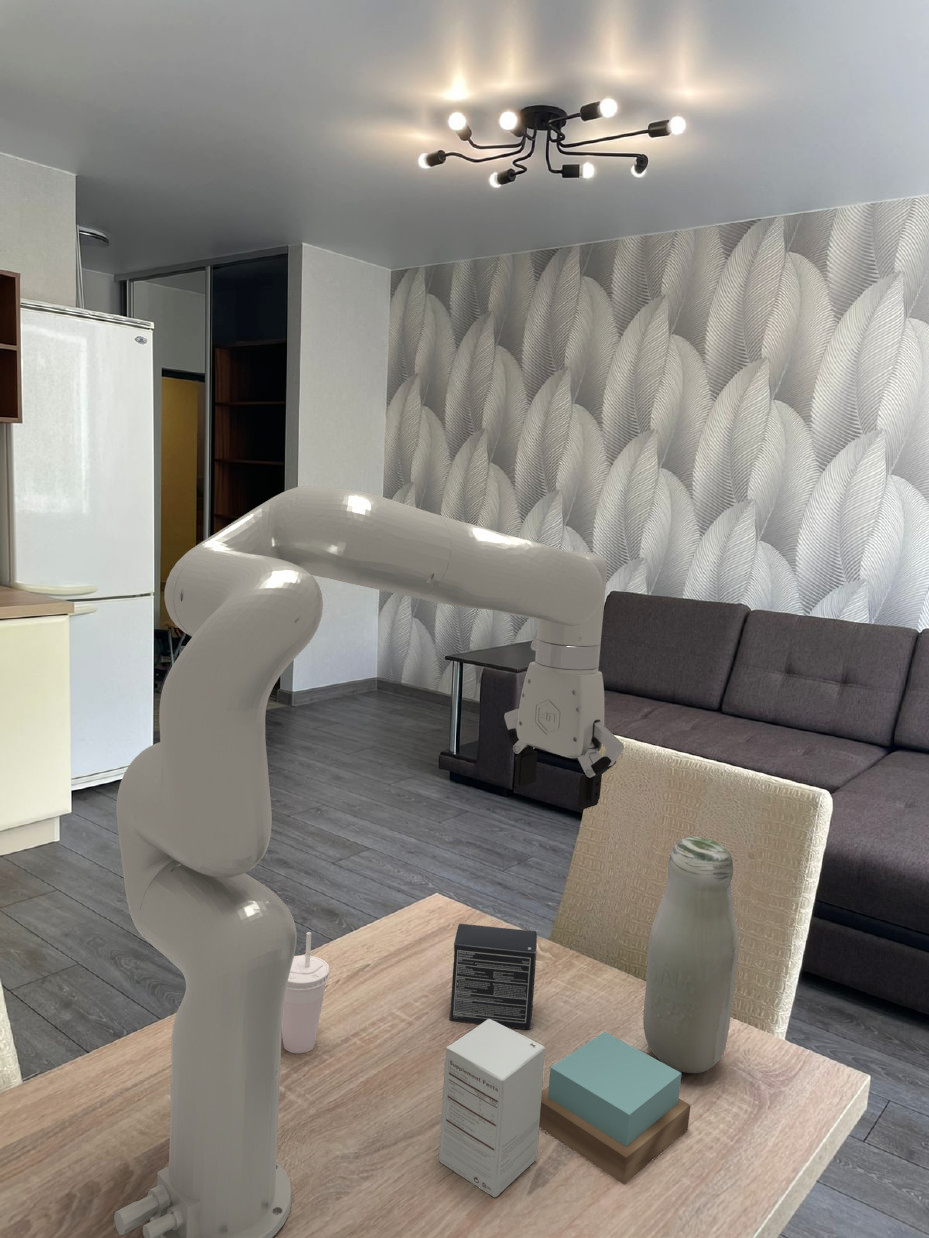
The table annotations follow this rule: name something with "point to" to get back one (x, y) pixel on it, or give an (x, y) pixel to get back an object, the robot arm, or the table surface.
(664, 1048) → the glass bottle
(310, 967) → the smoothie
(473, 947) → the small box
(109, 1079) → the table surface
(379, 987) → the table surface
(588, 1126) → the tower base
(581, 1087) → the tower top
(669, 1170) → the table surface
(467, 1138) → the supplement box
